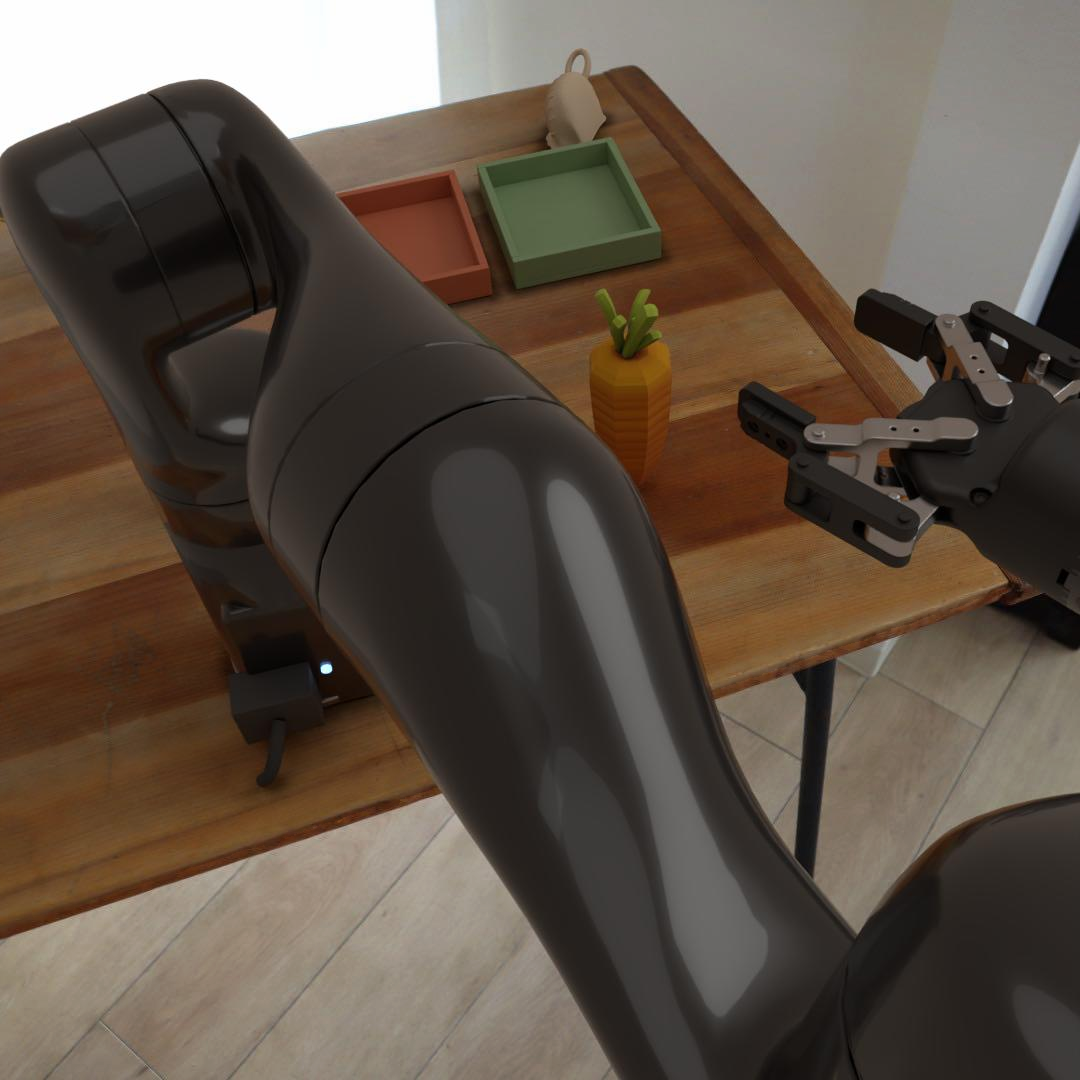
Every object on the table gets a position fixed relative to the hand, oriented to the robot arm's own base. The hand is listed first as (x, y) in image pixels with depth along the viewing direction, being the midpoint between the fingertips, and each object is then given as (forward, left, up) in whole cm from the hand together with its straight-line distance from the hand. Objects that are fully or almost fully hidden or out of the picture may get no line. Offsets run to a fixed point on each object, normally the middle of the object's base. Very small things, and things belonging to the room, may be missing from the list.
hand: (802, 352), depth 55 cm
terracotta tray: (+38, +15, -18) cm, 44 cm away
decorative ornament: (+50, -1, -18) cm, 53 cm away
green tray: (+38, +3, -18) cm, 42 cm away
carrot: (+10, +6, -18) cm, 21 cm away
